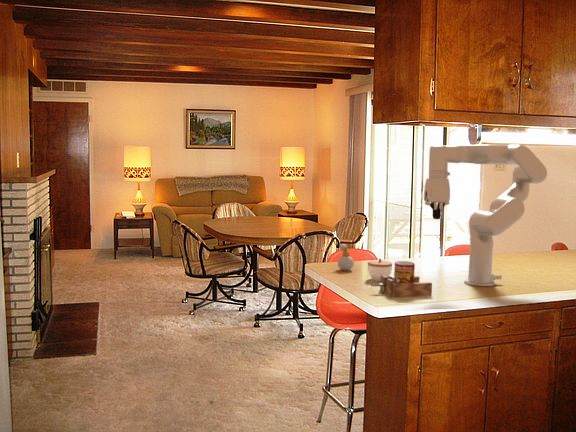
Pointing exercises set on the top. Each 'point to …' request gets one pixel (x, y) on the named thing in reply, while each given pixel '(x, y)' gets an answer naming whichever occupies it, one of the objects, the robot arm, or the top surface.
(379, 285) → the pusher
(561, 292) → the top surface
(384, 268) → the lidded jar
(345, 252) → the perfume bottle
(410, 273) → the canned food
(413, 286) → the brown wooden frame
